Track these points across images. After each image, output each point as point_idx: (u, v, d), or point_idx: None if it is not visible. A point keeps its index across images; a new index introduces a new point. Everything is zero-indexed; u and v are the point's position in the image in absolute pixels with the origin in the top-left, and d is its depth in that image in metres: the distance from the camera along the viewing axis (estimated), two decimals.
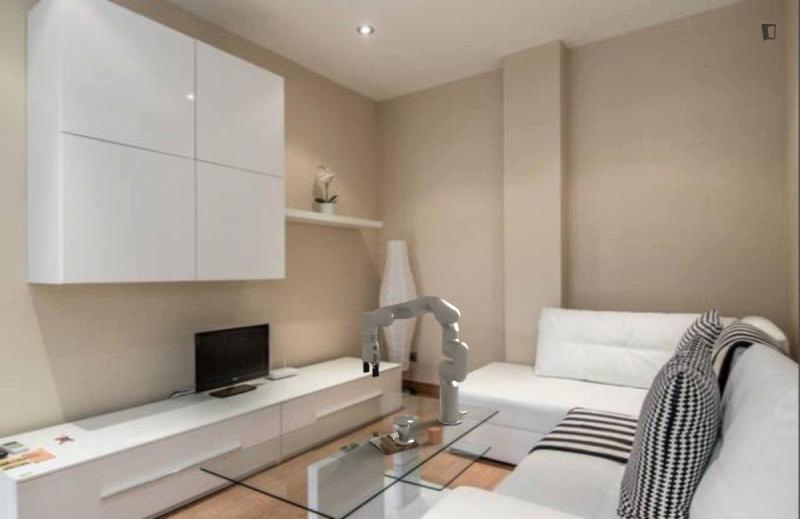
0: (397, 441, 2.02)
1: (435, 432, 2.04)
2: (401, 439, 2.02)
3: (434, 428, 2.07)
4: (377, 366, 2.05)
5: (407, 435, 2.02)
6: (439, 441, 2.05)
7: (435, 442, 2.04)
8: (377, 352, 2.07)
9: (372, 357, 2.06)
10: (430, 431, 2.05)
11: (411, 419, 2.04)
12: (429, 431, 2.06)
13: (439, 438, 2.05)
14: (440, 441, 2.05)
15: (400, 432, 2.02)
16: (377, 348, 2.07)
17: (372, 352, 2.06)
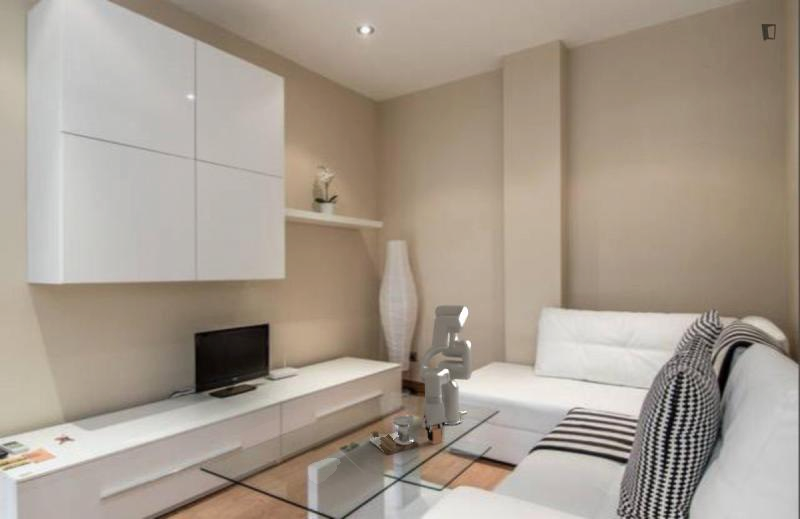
0: (397, 441, 2.02)
1: (435, 431, 2.04)
2: (401, 439, 2.02)
3: (434, 428, 2.07)
4: None
5: (407, 435, 2.02)
6: (439, 441, 2.05)
7: (435, 442, 2.04)
8: None
9: None
10: None
11: (411, 419, 2.04)
12: None
13: (439, 438, 2.05)
14: (440, 441, 2.05)
15: (400, 432, 2.02)
16: None
17: None
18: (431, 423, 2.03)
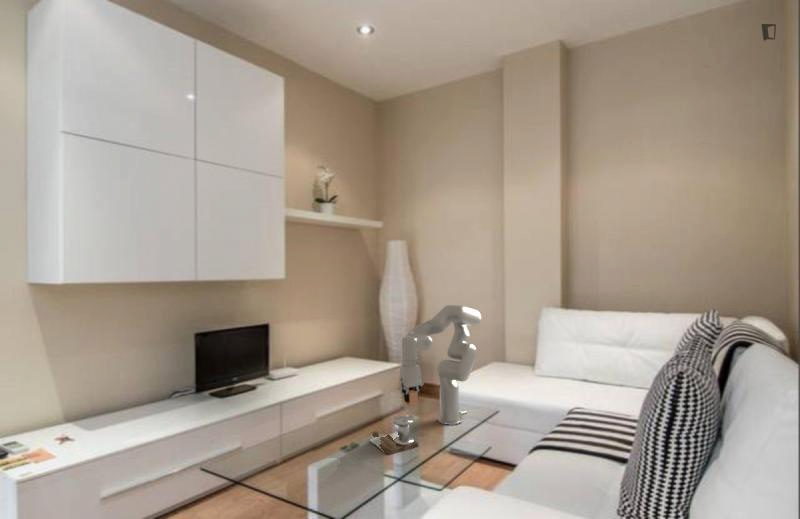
0: (397, 441, 2.02)
1: (411, 394, 2.10)
2: (401, 439, 2.02)
3: (411, 391, 2.13)
4: None
5: (407, 435, 2.02)
6: (415, 403, 2.11)
7: (412, 404, 2.10)
8: None
9: None
10: None
11: (411, 419, 2.04)
12: None
13: (415, 400, 2.11)
14: (416, 403, 2.12)
15: (400, 432, 2.02)
16: None
17: None
18: (408, 385, 2.09)
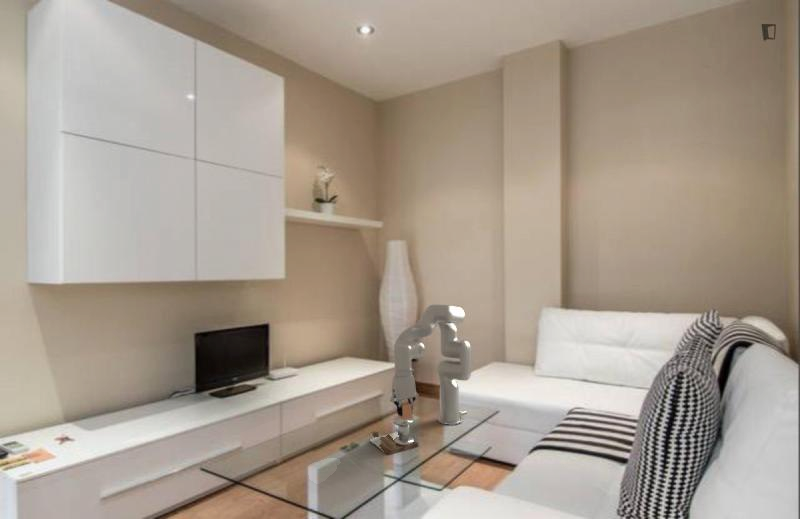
0: (397, 441, 2.02)
1: (405, 406, 1.94)
2: (401, 439, 2.02)
3: (404, 403, 1.97)
4: None
5: (407, 435, 2.02)
6: (409, 417, 1.95)
7: (405, 417, 1.94)
8: None
9: None
10: None
11: (411, 419, 2.04)
12: None
13: (409, 413, 1.95)
14: (410, 416, 1.95)
15: (400, 432, 2.02)
16: None
17: None
18: (400, 397, 1.93)
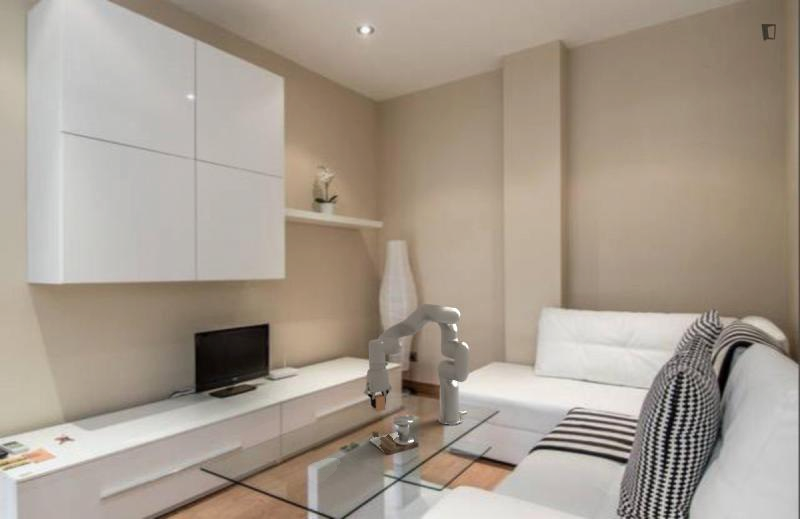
0: (397, 441, 2.02)
1: (378, 398, 2.04)
2: (401, 439, 2.02)
3: (378, 395, 2.07)
4: None
5: (407, 435, 2.02)
6: (382, 408, 2.05)
7: (378, 409, 2.04)
8: None
9: None
10: None
11: (411, 419, 2.04)
12: None
13: (382, 405, 2.05)
14: (384, 408, 2.06)
15: (400, 432, 2.02)
16: None
17: None
18: (374, 390, 2.04)
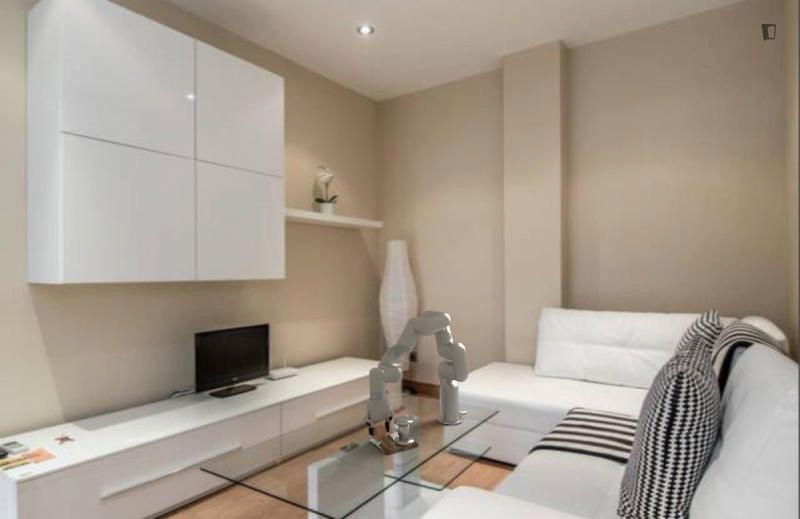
0: (397, 441, 2.02)
1: (379, 430, 2.04)
2: (401, 439, 2.02)
3: (379, 426, 2.07)
4: None
5: (407, 435, 2.02)
6: None
7: (379, 440, 2.04)
8: None
9: None
10: (375, 429, 2.06)
11: (411, 419, 2.04)
12: (374, 429, 2.06)
13: (383, 436, 2.05)
14: None
15: (400, 432, 2.02)
16: None
17: None
18: (375, 419, 2.03)
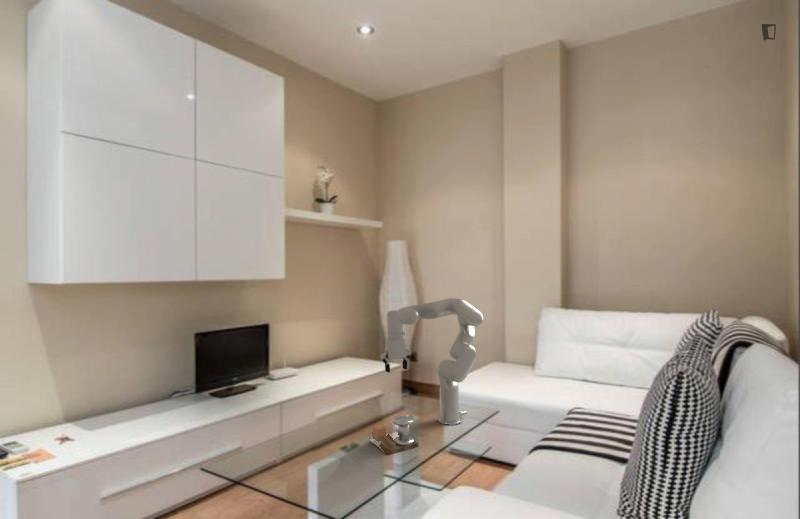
0: (397, 441, 2.02)
1: (379, 430, 2.04)
2: (401, 439, 2.02)
3: (379, 426, 2.07)
4: None
5: (407, 435, 2.02)
6: None
7: (379, 440, 2.04)
8: None
9: None
10: (375, 429, 2.06)
11: (411, 419, 2.04)
12: (374, 429, 2.06)
13: (383, 436, 2.05)
14: None
15: (400, 432, 2.02)
16: None
17: None
18: (392, 357, 2.17)
